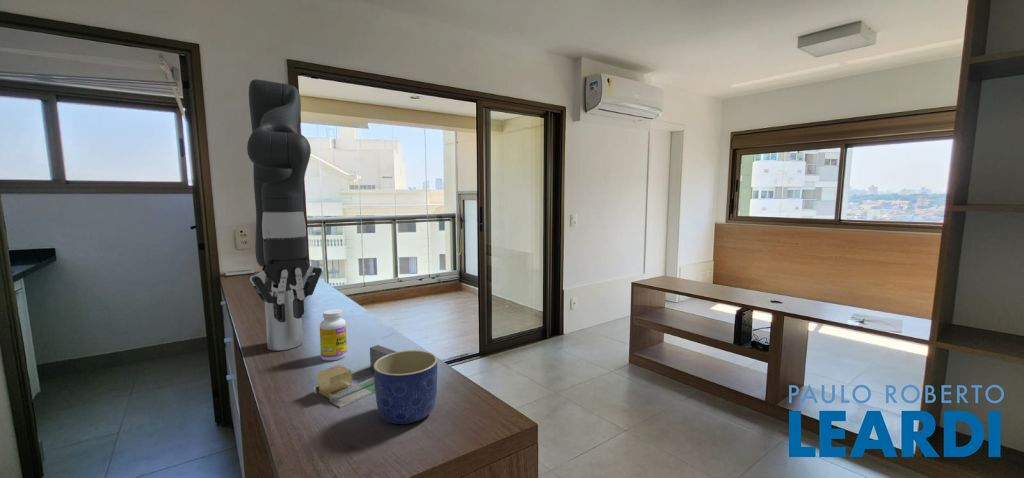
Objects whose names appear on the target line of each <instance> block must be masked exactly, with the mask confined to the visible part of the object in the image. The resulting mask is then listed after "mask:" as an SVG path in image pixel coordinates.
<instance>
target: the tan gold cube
mask: <svg viewBox="0 0 1024 478" xmlns="http://www.w3.org/2000/svg"><path fill="white" fill-rule="evenodd" d="M351 372H352V369H349V368H347V367H346V366H343V365H340V364H337V365H334V366H331V367H328V368H326V369H323V370H320V371H318V372H317V378H318V381H317V383H318V384H319V393H318V394H320V395H322V396H324V397H325V398H328V399H329V400H330V398H329V395H331V394H333V393H336V392H338V391H341V390H343V389H346V388H348V389H349V388H351V387H352V386H353V384H352V383H353V380H352V378H351Z"/></svg>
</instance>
